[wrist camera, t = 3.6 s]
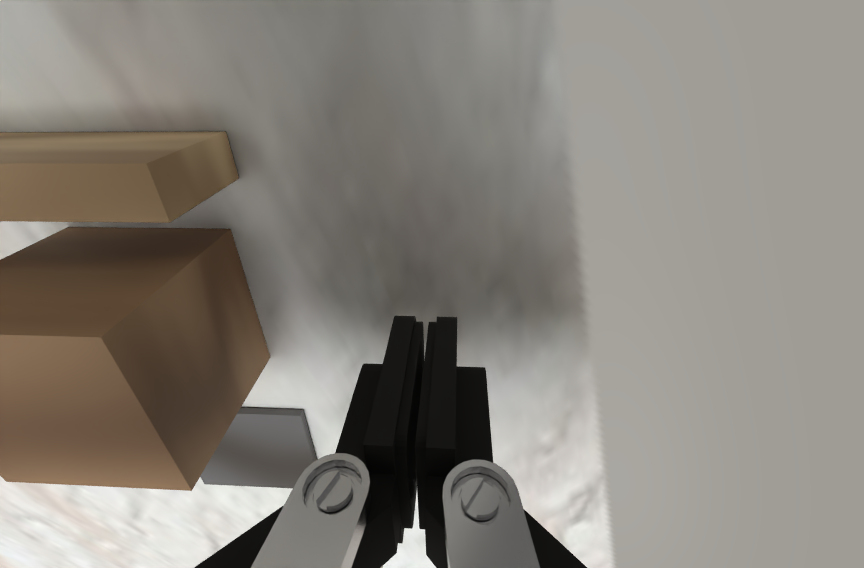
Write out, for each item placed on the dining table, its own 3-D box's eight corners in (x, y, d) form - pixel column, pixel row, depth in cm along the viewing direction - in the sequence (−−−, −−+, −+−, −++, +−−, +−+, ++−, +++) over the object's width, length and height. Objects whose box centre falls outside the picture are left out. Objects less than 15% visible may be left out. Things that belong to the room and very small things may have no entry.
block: (70, 225, 12) (-147, 331, 8) (232, 227, 12) (100, 337, 7) (138, 351, 14) (6, 481, 10) (271, 355, 14) (191, 490, 10)
